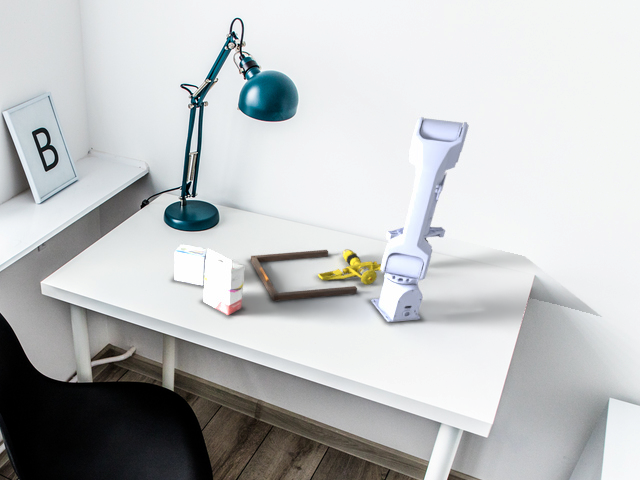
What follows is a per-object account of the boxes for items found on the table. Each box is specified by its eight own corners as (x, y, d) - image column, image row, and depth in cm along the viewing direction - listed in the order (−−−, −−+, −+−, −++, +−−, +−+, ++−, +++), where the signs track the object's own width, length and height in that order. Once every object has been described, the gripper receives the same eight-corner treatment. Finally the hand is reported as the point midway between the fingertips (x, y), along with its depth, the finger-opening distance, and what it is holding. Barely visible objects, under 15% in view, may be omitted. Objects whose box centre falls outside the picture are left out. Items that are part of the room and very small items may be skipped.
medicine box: (208, 278, 169) (210, 248, 164) (202, 286, 166) (204, 256, 161) (180, 272, 172) (180, 243, 167) (173, 280, 168) (174, 250, 163)
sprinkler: (376, 239, 174) (403, 265, 162) (375, 252, 176) (402, 279, 164) (305, 254, 174) (327, 281, 162) (305, 267, 176) (327, 295, 164)
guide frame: (356, 293, 162) (357, 287, 160) (273, 300, 160) (274, 294, 159) (325, 254, 178) (327, 248, 177) (250, 260, 176) (251, 254, 175)
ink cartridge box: (242, 308, 157) (247, 254, 149) (228, 316, 155) (232, 261, 146) (216, 294, 163) (220, 241, 154) (202, 301, 160) (205, 248, 151)
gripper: (440, 206, 166) (426, 253, 174) (385, 210, 165) (374, 257, 173) (454, 218, 161) (440, 266, 169) (398, 222, 159) (386, 270, 167)
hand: (407, 262), depth 170 cm, fingers closed
